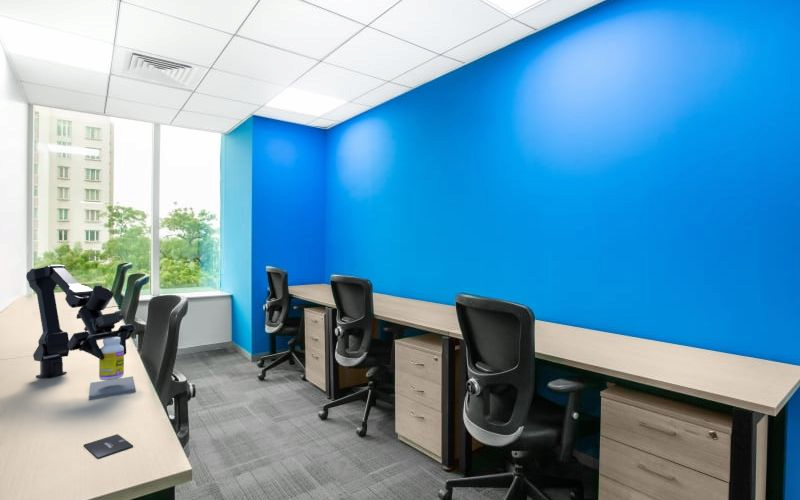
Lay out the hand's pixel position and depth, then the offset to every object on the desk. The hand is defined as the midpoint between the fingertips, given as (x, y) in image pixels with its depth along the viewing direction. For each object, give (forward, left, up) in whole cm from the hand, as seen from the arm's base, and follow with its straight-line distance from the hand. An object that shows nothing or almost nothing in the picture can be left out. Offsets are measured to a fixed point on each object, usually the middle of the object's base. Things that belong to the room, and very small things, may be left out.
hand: (114, 356), depth 137 cm
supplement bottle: (-1, 0, -7) cm, 7 cm away
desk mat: (-1, 0, -11) cm, 11 cm away
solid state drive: (+35, -32, -11) cm, 48 cm away
